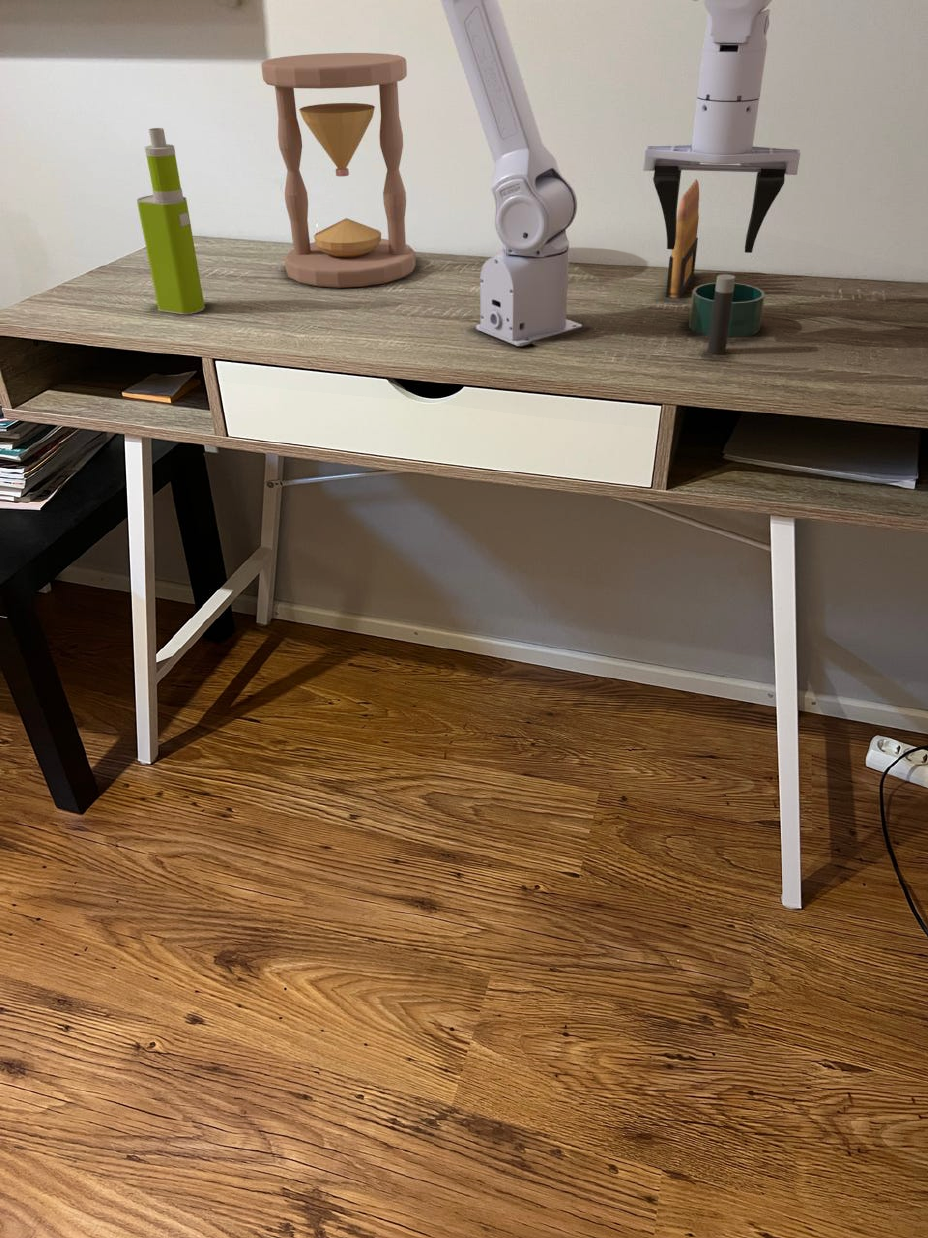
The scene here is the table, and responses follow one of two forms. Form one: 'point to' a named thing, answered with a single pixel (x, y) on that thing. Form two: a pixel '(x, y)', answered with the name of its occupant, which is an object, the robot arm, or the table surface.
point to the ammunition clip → (684, 244)
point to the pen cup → (742, 310)
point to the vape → (169, 233)
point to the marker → (721, 314)
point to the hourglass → (342, 167)
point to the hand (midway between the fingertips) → (709, 248)
